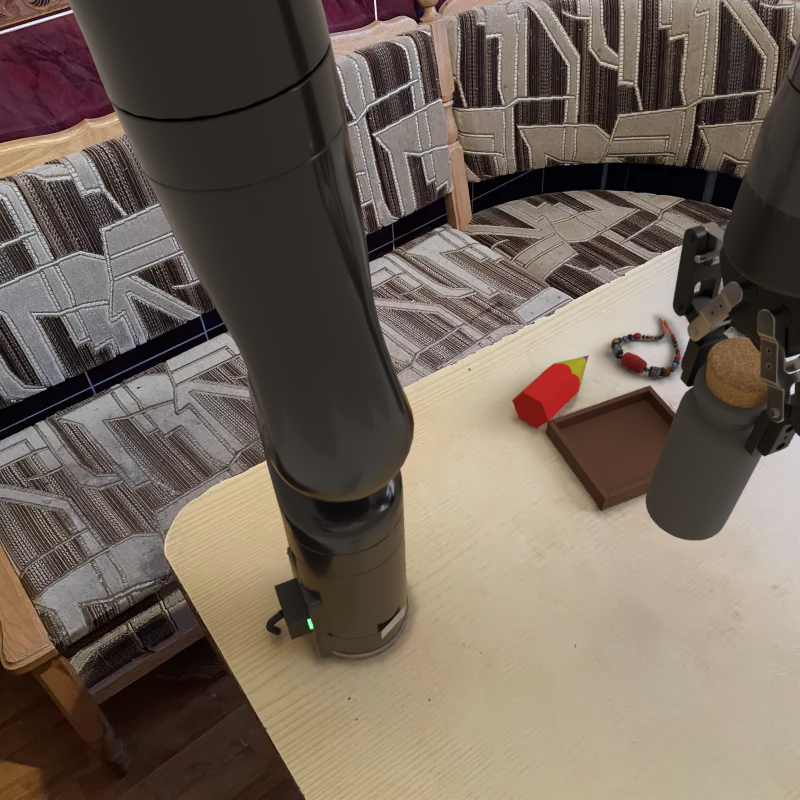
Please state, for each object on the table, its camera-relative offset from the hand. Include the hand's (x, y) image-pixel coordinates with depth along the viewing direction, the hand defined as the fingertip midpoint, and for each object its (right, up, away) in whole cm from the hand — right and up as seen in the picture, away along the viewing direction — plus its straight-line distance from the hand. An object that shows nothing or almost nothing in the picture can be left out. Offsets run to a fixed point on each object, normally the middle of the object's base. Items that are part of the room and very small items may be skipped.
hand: (727, 413), depth 48 cm
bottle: (0, -7, +8) cm, 11 cm away
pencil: (-3, +1, +39) cm, 39 cm away
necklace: (+10, +7, +44) cm, 45 cm away
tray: (+3, -5, +33) cm, 34 cm away
